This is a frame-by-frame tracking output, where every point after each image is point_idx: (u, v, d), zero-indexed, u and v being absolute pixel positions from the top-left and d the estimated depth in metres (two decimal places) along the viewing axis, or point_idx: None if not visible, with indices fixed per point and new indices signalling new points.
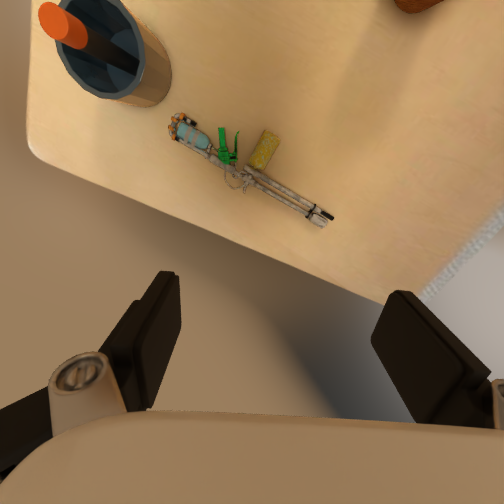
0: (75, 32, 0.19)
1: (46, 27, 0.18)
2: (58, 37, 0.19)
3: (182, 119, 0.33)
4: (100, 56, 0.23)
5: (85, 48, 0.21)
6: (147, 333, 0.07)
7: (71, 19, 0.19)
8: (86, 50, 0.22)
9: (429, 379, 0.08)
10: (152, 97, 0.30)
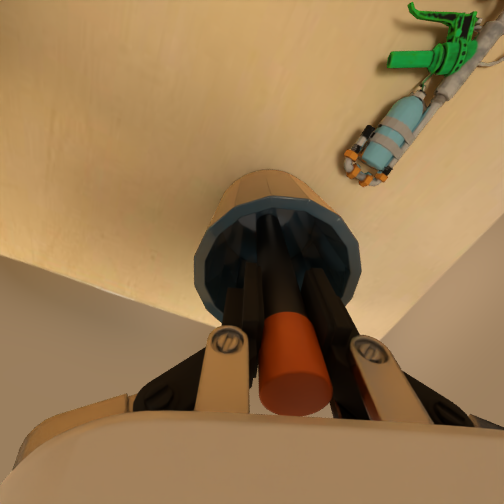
0: (308, 349, 0.07)
1: (306, 409, 0.07)
2: (329, 396, 0.07)
3: None
4: (297, 284, 0.12)
5: None
6: (263, 311, 0.08)
7: (284, 352, 0.07)
8: None
9: None
10: None
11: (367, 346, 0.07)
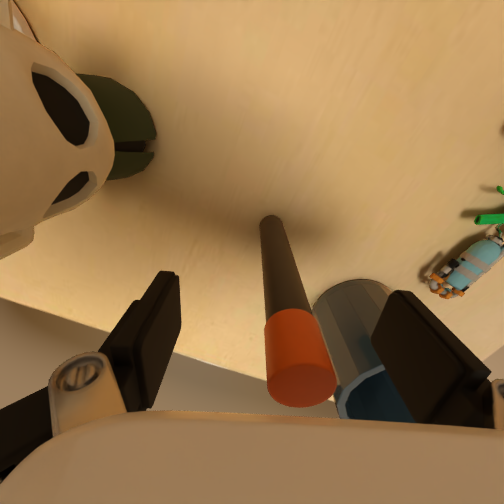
0: (313, 343, 0.08)
1: (311, 399, 0.08)
2: (333, 387, 0.07)
3: (442, 279, 0.21)
4: None
5: (312, 315, 0.10)
6: (147, 333, 0.07)
7: (291, 345, 0.08)
8: None
9: (429, 379, 0.08)
10: None
11: None
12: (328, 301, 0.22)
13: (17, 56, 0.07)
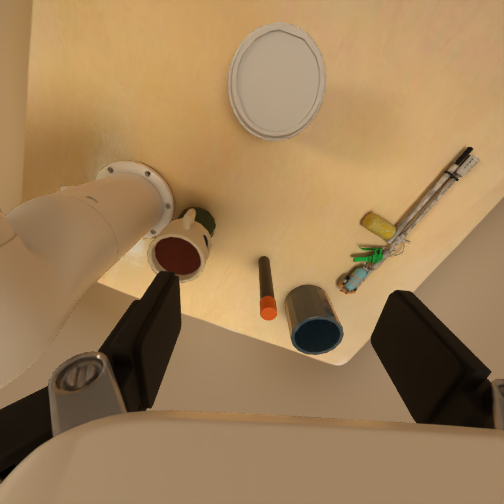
0: (271, 303, 0.31)
1: (271, 317, 0.31)
2: (276, 314, 0.31)
3: (343, 285, 0.44)
4: (272, 288, 0.36)
5: None
6: (147, 333, 0.07)
7: (266, 304, 0.31)
8: None
9: (429, 379, 0.08)
10: None
11: None
12: (291, 295, 0.46)
13: (203, 237, 0.31)
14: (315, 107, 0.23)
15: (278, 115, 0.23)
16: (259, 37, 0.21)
